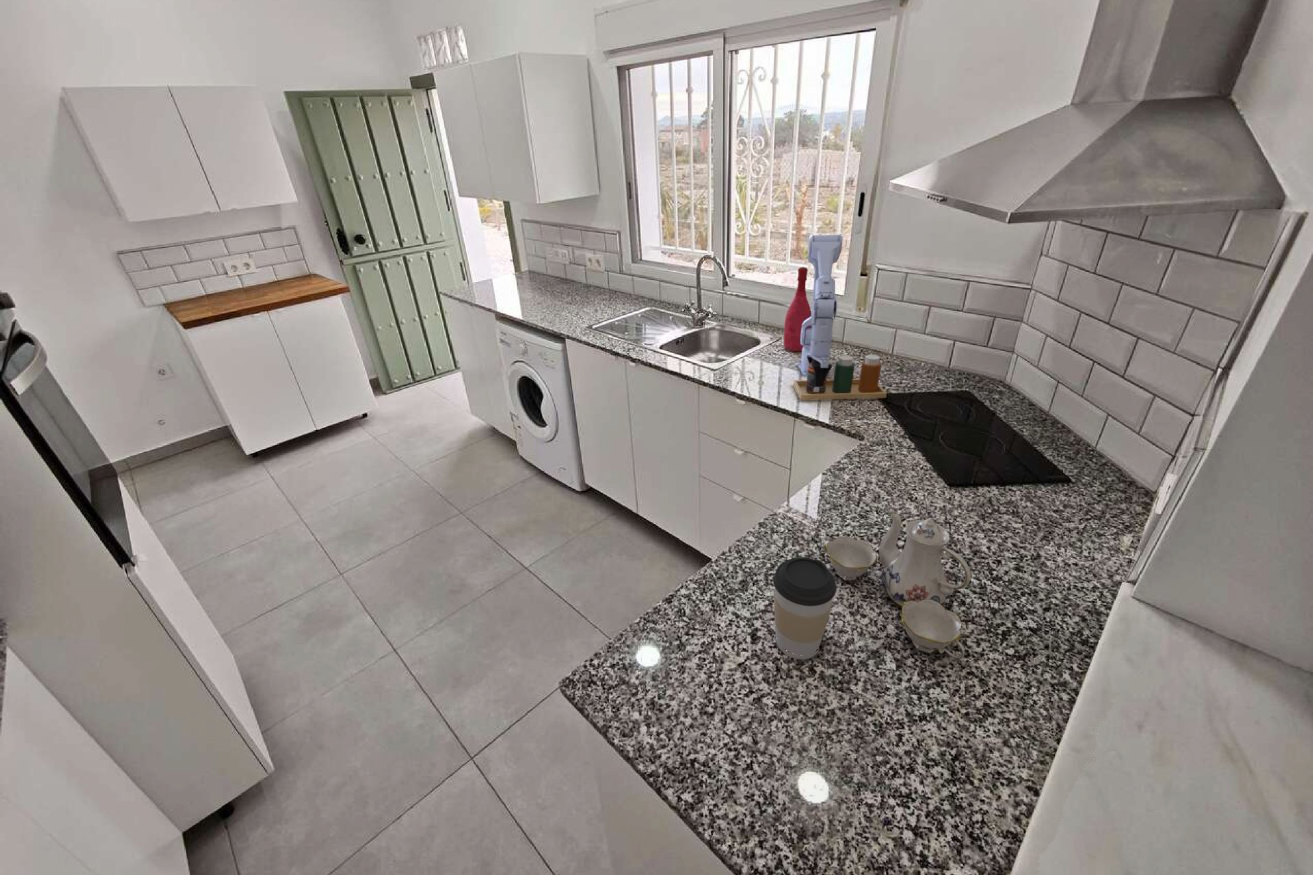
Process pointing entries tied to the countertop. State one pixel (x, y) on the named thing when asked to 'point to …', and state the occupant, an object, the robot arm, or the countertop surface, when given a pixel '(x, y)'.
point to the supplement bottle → (810, 384)
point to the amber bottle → (870, 374)
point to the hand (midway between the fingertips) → (816, 381)
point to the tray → (829, 394)
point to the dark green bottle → (843, 375)
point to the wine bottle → (797, 314)
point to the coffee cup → (802, 605)
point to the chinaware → (910, 578)
